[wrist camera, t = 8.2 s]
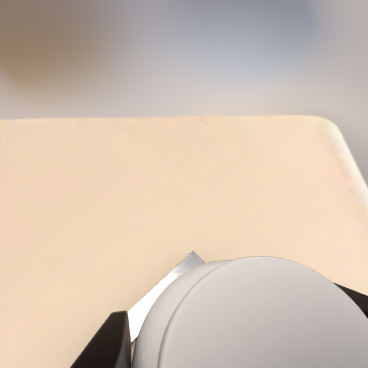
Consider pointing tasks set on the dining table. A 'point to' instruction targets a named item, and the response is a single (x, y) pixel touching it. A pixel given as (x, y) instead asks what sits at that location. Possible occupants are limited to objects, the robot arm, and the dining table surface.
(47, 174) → the dining table surface
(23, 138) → the dining table surface
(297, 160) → the dining table surface
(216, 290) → the supplement bottle
